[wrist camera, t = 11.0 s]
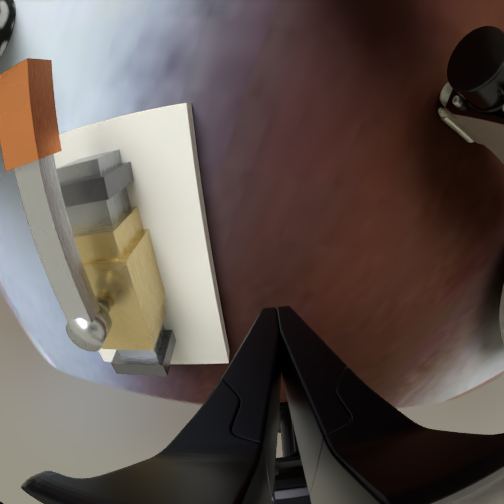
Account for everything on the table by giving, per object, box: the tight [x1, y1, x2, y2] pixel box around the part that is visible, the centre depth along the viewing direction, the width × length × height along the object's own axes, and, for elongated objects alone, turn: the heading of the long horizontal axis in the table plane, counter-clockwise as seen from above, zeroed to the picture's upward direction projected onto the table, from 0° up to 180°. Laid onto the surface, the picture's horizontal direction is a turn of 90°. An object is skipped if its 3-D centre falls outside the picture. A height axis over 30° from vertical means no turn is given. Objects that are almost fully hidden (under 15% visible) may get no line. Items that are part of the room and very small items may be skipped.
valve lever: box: [0, 58, 112, 352], centre depth 12 cm, size 14×2×3 cm, turn 5°
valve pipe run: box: [56, 149, 176, 376], centre depth 18 cm, size 16×5×4 cm, turn 5°
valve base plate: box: [53, 103, 230, 364], centre depth 21 cm, size 20×12×2 cm, turn 5°
